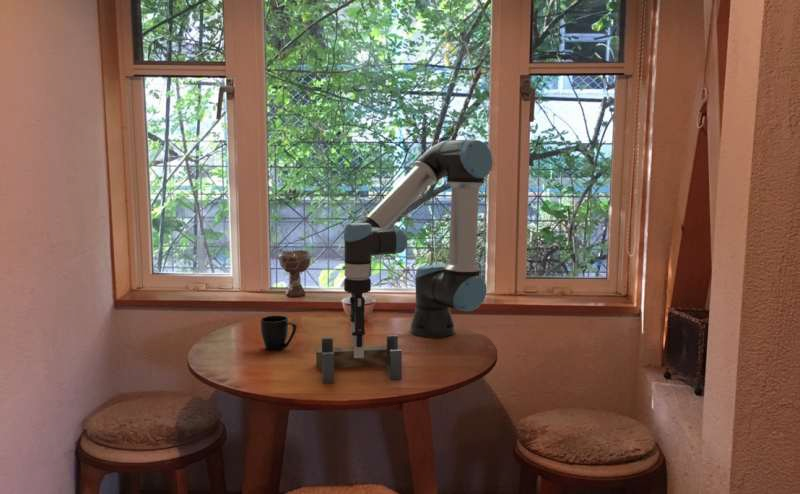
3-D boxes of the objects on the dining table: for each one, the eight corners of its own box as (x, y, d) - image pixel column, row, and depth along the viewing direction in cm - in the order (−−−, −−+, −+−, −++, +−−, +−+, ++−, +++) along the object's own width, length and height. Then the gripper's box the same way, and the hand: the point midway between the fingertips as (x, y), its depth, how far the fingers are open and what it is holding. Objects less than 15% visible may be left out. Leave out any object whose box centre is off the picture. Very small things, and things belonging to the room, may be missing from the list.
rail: (398, 361, 184) (398, 344, 184) (400, 365, 180) (400, 348, 180) (316, 365, 181) (315, 348, 180) (316, 369, 177) (316, 352, 176)
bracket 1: (333, 372, 174) (332, 337, 172) (334, 382, 165) (333, 346, 164) (322, 372, 173) (321, 337, 172) (322, 383, 165) (322, 346, 164)
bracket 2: (397, 369, 176) (397, 334, 175) (401, 379, 168) (401, 343, 167) (386, 369, 176) (386, 335, 174) (390, 380, 168) (390, 343, 166)
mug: (287, 355, 188) (286, 324, 187) (256, 349, 194) (255, 320, 193) (303, 348, 196) (302, 318, 194) (273, 343, 201) (272, 314, 200)
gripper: (341, 270, 189) (341, 338, 191) (347, 286, 164) (346, 364, 167) (366, 270, 190) (365, 338, 192) (375, 285, 165) (374, 363, 168)
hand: (356, 350), depth 180 cm, fingers open, 13 cm apart
